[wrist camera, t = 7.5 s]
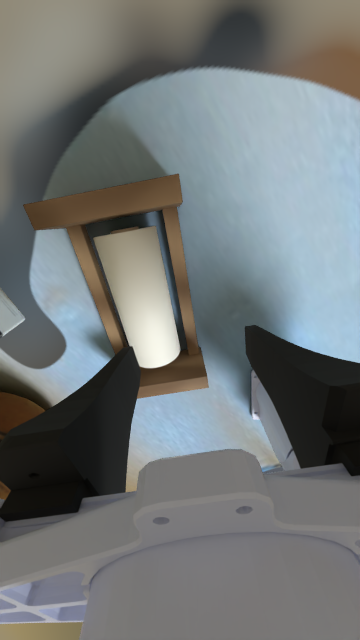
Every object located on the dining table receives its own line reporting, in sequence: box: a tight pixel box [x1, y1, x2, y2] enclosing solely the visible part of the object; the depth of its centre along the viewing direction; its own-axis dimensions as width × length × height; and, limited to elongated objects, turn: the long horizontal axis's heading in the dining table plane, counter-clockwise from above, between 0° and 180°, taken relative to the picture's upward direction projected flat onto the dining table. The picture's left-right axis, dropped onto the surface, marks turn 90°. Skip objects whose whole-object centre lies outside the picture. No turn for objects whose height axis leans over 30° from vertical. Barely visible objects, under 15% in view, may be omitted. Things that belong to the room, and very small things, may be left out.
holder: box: [23, 174, 209, 399], centre depth 19 cm, size 18×10×5 cm, turn 10°
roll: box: [93, 226, 180, 368], centre depth 19 cm, size 12×5×5 cm, turn 9°
